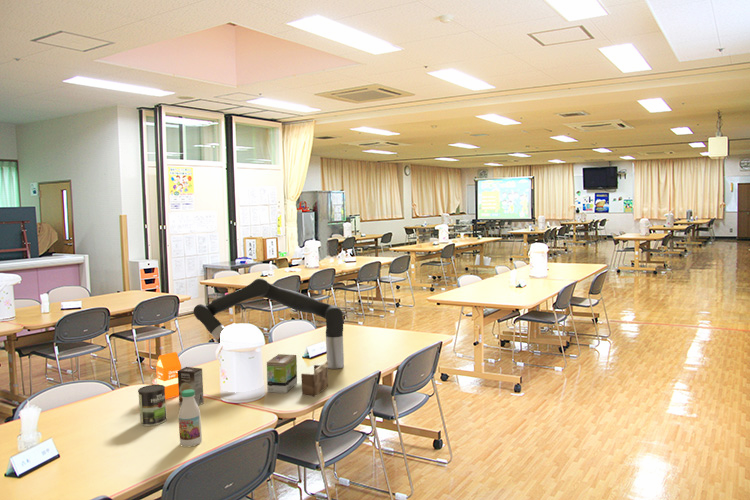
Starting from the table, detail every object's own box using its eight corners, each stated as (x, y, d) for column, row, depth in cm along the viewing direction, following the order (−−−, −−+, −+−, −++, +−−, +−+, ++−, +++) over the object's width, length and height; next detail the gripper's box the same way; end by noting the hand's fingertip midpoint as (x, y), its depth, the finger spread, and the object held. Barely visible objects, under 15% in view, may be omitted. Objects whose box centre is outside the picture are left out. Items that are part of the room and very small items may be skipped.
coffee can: (172, 419, 227) (170, 386, 226) (150, 428, 218) (148, 394, 217) (156, 415, 232) (154, 382, 231) (134, 423, 224) (132, 390, 223)
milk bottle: (183, 439, 207) (180, 388, 205) (204, 438, 207) (201, 386, 206) (177, 448, 199) (174, 395, 197) (199, 446, 200) (196, 393, 198)
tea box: (287, 393, 255) (285, 362, 254) (266, 392, 257) (265, 362, 256) (297, 383, 270) (296, 354, 268) (278, 382, 272) (277, 353, 270)
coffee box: (178, 405, 243) (176, 370, 242) (187, 400, 249) (185, 366, 248) (195, 407, 240) (193, 372, 239) (204, 402, 246) (202, 367, 245)
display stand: (315, 384, 266) (314, 360, 265) (329, 385, 264) (328, 360, 263) (302, 395, 252) (301, 369, 251) (316, 396, 250) (315, 370, 249)
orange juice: (183, 394, 258) (180, 353, 256) (165, 399, 252) (162, 357, 250) (175, 390, 263) (172, 350, 262) (157, 395, 257) (154, 354, 255)
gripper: (219, 334, 264) (242, 359, 262) (234, 327, 277) (257, 352, 274) (210, 344, 266) (234, 370, 264) (226, 337, 279) (248, 362, 276)
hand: (245, 361), depth 269 cm, fingers closed
